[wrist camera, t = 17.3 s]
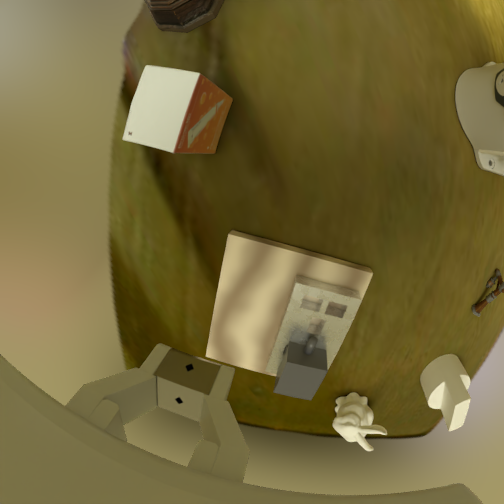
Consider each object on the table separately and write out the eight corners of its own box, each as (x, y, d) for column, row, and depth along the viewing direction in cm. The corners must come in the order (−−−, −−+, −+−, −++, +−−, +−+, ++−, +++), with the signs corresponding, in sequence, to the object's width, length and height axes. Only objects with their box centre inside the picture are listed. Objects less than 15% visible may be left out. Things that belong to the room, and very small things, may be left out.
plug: (331, 329, 38) (334, 357, 32) (311, 370, 41) (310, 400, 35) (294, 319, 39) (292, 348, 33) (278, 363, 42) (273, 392, 36)
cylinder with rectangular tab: (420, 364, 41) (438, 411, 30) (461, 347, 38) (485, 390, 27) (419, 393, 43) (433, 438, 32) (457, 378, 40) (476, 419, 29)
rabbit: (327, 391, 46) (328, 443, 35) (377, 379, 43) (387, 430, 32) (338, 424, 49) (339, 470, 38) (381, 414, 46) (388, 460, 35)
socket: (358, 291, 36) (361, 299, 34) (319, 373, 42) (320, 383, 40) (296, 274, 37) (296, 282, 35) (267, 361, 43) (265, 371, 40)
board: (370, 267, 37) (373, 273, 35) (318, 378, 45) (319, 385, 43) (232, 230, 39) (228, 233, 37) (209, 349, 46) (205, 356, 45)
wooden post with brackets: (503, 267, 31) (511, 288, 28) (474, 296, 37) (479, 317, 34) (498, 263, 31) (506, 284, 28) (468, 293, 37) (473, 314, 34)
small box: (215, 154, 35) (173, 155, 23) (174, 142, 36) (119, 140, 24) (235, 98, 32) (200, 71, 20) (192, 88, 33) (143, 64, 21)
